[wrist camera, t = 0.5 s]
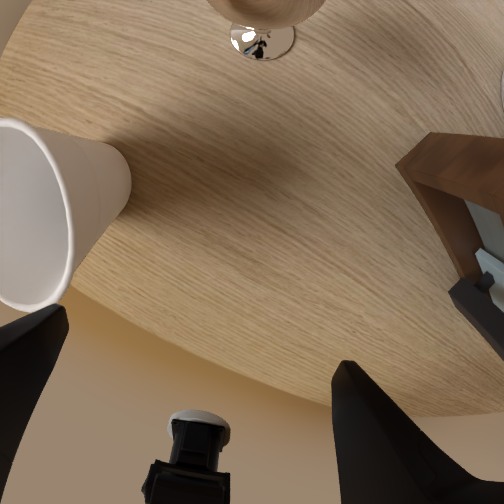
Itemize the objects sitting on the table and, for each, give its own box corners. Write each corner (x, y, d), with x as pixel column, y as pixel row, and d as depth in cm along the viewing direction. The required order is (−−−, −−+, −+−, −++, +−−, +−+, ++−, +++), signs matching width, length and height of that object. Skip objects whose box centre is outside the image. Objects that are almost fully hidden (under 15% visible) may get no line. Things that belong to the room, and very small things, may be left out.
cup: (91, 95, 18) (-13, 83, 7) (183, 169, 20) (114, 201, 10) (37, 194, 20) (-55, 235, 10) (115, 265, 23) (42, 345, 13)
